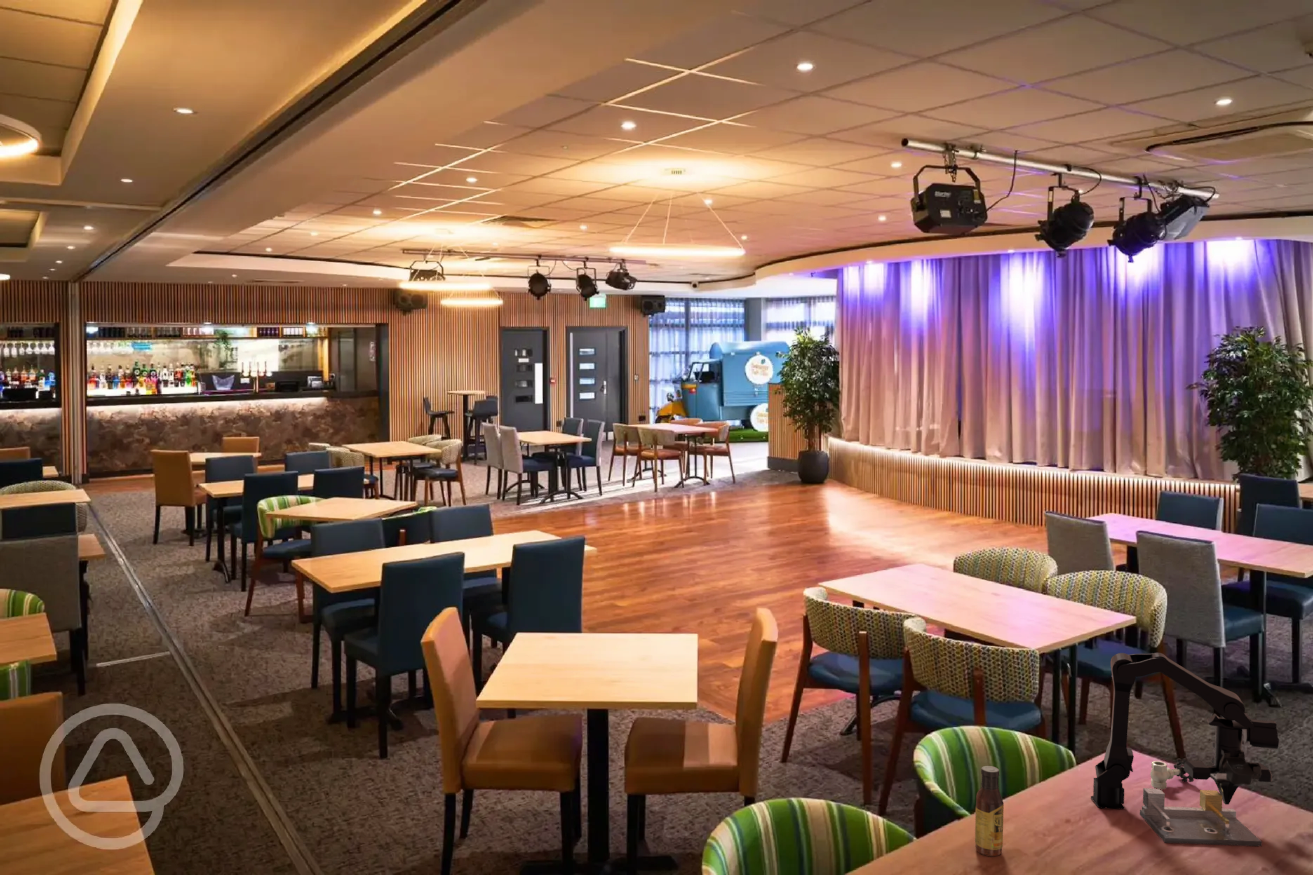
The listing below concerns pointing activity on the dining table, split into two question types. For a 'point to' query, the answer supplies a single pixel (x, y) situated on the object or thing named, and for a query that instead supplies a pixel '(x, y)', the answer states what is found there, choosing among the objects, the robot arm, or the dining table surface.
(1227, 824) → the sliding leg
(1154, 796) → the bolt plate dividers
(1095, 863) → the dining table surface
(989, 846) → the sauce bottle
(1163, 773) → the valve
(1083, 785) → the dining table surface
